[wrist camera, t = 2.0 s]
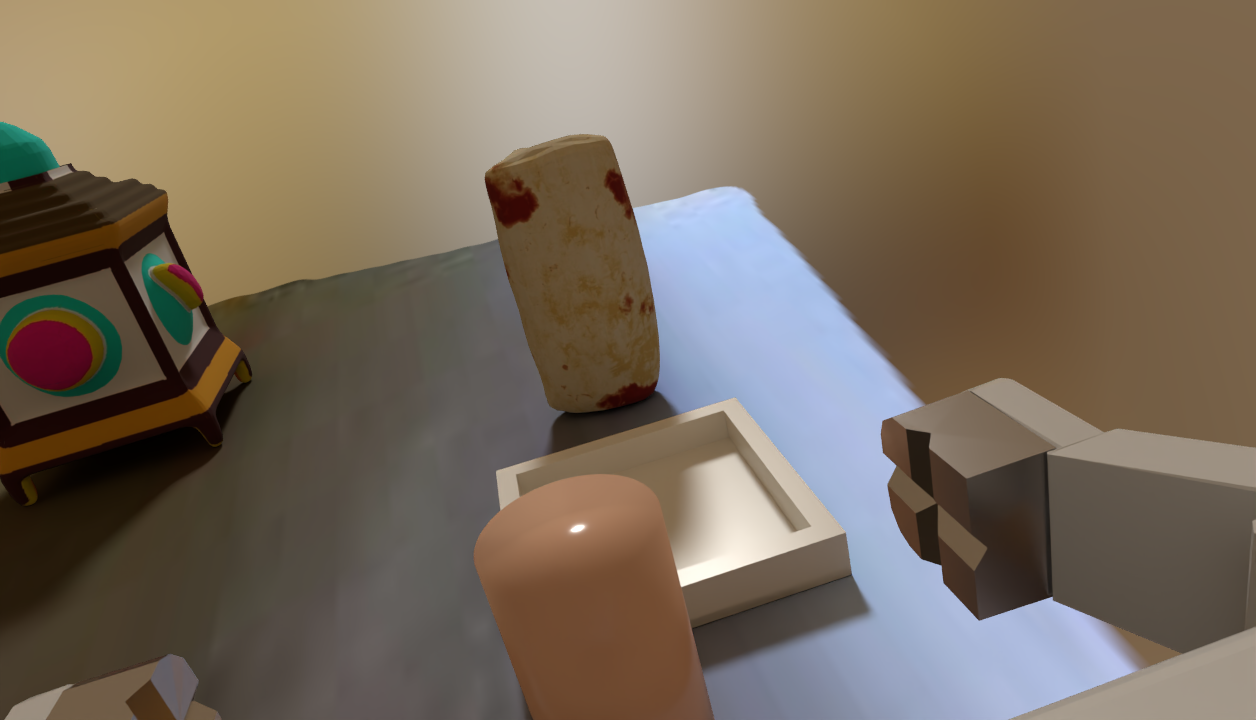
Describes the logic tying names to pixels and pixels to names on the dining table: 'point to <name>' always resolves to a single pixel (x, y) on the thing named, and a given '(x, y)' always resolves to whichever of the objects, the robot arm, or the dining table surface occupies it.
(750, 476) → the bin
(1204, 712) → the robot arm
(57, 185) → the decorative lantern
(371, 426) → the dining table surface
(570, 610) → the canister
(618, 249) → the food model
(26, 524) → the dining table surface
